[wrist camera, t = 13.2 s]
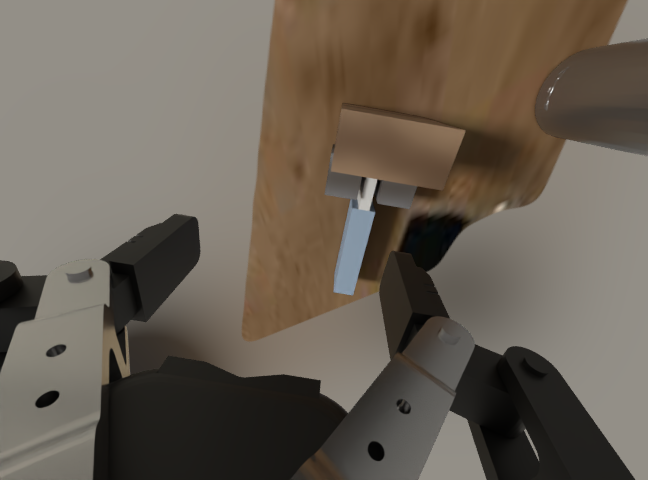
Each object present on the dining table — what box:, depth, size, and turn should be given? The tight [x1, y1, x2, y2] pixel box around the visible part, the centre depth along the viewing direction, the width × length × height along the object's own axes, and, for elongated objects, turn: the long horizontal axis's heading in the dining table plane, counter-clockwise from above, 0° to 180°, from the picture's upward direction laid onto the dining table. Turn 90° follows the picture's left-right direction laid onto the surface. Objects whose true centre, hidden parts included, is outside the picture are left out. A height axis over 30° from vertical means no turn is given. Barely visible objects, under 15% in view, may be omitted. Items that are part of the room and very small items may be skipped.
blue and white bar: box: [334, 177, 377, 295], centre depth 39 cm, size 19×3×5 cm, turn 171°
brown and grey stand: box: [325, 103, 466, 209], centre depth 30 cm, size 10×11×14 cm
